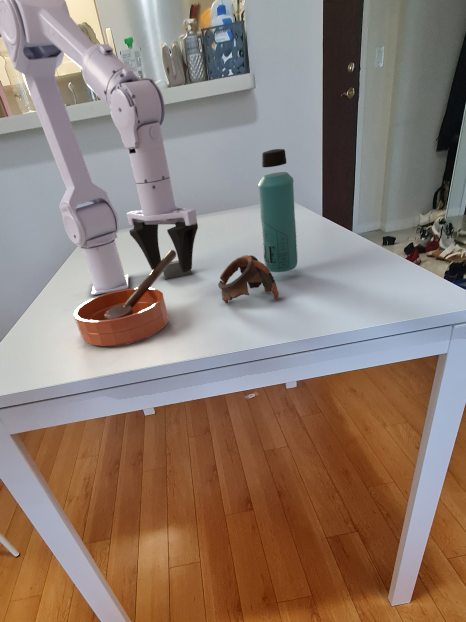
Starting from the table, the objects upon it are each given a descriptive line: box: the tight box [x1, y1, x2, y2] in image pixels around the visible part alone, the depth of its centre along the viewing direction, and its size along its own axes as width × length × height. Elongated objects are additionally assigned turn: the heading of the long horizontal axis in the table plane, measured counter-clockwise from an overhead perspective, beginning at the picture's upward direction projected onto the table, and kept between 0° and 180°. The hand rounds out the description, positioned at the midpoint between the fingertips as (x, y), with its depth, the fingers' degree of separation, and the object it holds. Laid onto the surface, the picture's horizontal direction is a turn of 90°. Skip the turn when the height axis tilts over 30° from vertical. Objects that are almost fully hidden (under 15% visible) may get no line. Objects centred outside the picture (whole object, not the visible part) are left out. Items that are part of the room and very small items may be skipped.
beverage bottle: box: [257, 148, 299, 273], centre depth 83 cm, size 6×7×20 cm
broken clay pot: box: [217, 254, 280, 304], centre depth 81 cm, size 12×9×8 cm
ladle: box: [104, 249, 177, 320], centre depth 80 cm, size 19×5×6 cm, turn 145°
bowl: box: [73, 287, 169, 347], centre depth 78 cm, size 15×15×4 cm
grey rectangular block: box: [162, 260, 192, 280], centre depth 99 cm, size 2×6×3 cm, turn 100°
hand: (171, 269), depth 83 cm, fingers open, 7 cm apart
